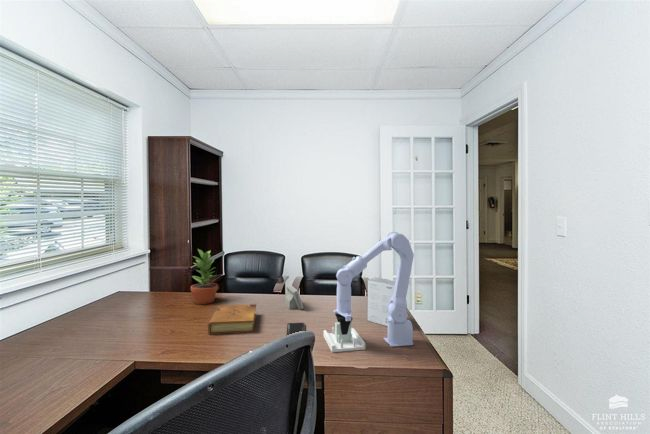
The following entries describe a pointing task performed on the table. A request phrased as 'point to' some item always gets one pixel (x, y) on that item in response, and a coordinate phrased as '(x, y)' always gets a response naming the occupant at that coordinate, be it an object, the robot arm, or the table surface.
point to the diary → (233, 319)
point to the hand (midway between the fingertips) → (343, 332)
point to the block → (338, 331)
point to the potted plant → (204, 280)
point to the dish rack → (344, 342)
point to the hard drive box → (379, 299)
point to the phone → (295, 327)
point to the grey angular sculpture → (293, 298)
